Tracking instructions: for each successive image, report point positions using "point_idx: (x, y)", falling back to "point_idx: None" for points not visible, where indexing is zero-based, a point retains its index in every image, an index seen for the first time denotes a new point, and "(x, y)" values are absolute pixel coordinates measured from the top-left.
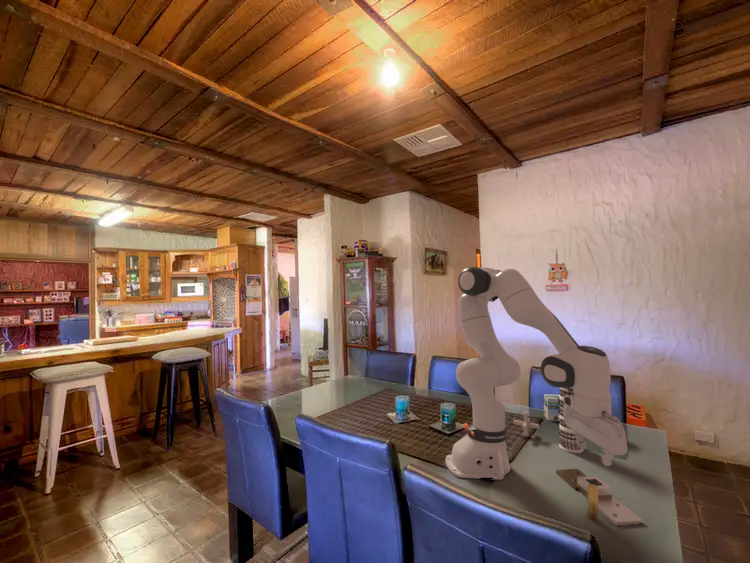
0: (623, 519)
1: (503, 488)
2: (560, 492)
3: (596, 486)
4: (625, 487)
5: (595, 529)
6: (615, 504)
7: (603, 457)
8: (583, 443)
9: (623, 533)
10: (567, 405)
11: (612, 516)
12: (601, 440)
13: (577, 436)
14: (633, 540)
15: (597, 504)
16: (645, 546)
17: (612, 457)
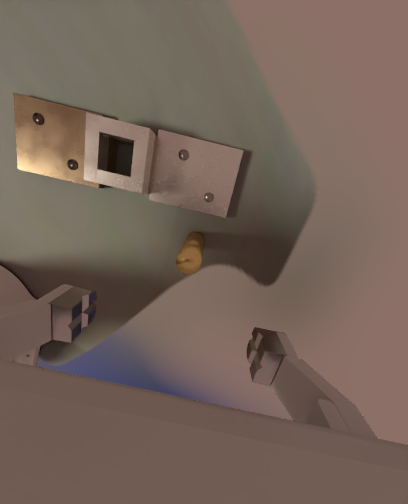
0: (225, 193)
1: None
2: (106, 229)
3: (192, 253)
4: (116, 21)
5: (218, 261)
6: (182, 157)
7: (274, 392)
8: (72, 321)
9: (245, 222)
10: None
11: (211, 207)
12: None
13: (3, 356)
14: (264, 223)
15: (202, 247)
16: (283, 217)
17: (315, 371)
